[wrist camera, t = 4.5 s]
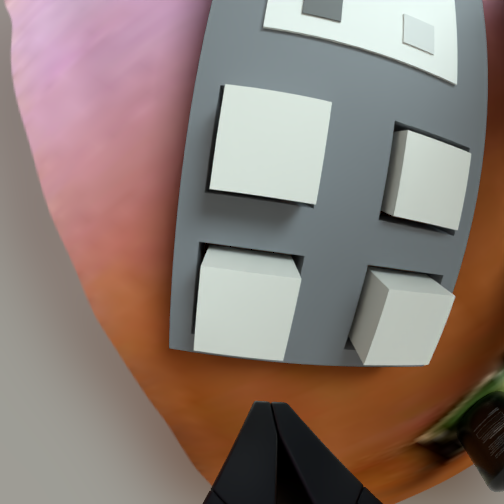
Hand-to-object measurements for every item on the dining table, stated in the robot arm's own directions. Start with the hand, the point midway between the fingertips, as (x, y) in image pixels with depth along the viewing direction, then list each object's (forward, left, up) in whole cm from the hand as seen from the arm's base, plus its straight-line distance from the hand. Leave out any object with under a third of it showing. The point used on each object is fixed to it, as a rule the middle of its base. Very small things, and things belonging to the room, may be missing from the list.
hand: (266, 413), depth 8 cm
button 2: (+1, 0, -9) cm, 9 cm away
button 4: (-7, 0, -9) cm, 12 cm away
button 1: (+1, -7, -9) cm, 11 cm away
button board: (-3, -9, -11) cm, 15 cm away
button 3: (-7, -7, -10) cm, 14 cm away
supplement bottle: (-25, +13, -11) cm, 31 cm away
